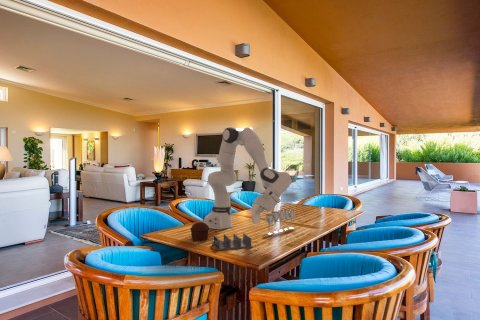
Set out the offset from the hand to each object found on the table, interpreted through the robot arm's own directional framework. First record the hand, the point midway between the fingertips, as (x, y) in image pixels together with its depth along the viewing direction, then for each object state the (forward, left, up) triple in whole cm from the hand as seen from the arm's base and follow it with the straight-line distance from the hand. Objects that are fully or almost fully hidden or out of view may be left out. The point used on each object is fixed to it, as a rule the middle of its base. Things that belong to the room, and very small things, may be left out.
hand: (254, 213), depth 176 cm
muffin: (-33, 0, -17) cm, 38 cm away
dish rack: (-11, -7, -17) cm, 22 cm away
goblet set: (+10, +35, -18) cm, 41 cm away
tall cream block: (+1, 0, -5) cm, 5 cm away
